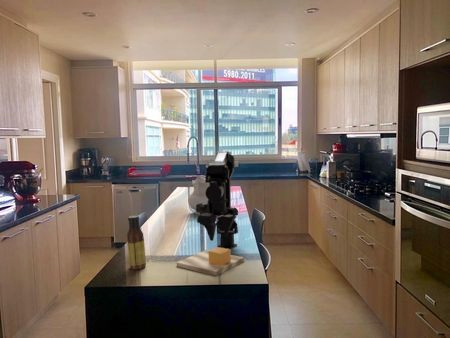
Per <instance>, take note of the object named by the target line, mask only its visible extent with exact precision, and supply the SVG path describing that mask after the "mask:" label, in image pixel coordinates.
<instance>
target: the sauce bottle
mask: <svg viewBox="0 0 450 338" xmlns="http://www.w3.org/2000/svg"><path fill="white" fill-rule="evenodd" d="M127 221H128V226H129V227H128V231H127V232H126V233H127V234H126V238H127V240H126V241H127V242H126V244H127V251H128V253H127V254H128V263H129V264H128V265H129V267H130V269H131V270H136V271H137V270H141V269H144V268H145V267H147V263H146V261H147V260H146V257H147V256H146V247H145V238H144V232H143V230H142V229H141V227H140V216H139V215H130V216H128V217H127Z"/></svg>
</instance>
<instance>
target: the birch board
mask: <svg viewBox="0 0 450 338" xmlns="http://www.w3.org/2000/svg"><path fill="white" fill-rule="evenodd" d="M208 251H209V250H207V249H205V250H203V251H200V252H198V253H195V254H194V255H193V254H192V255H190V256H188V257H186V258H183V259H181V260H178V261H177V262H176V267H179V268H184V269H188V270H192V271H195V272H200V273H204V274H207V275H211V276H218V275H219V276H220V275H221V274H222V273H224V272H226V271H228V270H230V269H232V268H234V267H236V266H238V265H240V264H241V263H244V262H245V258H244V257H243V256H237V255H233V254H231V261H230V262H228V263H226V264H224V265H222V266H221V265H216V264H212V263H209V252H208Z"/></svg>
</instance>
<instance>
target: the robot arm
mask: <svg viewBox="0 0 450 338" xmlns="http://www.w3.org/2000/svg"><path fill="white" fill-rule="evenodd" d="M235 168H236V160H235V156H234V155H232V154H230V151H228V150H218V151H216V156H215V157H214V161H211V162H210V163H209V164H208V165H207V166H206V171H205V172H206V173H205V178H206V180H205V183H210V185H209V187H208V188H207V189H206V192H205V194H206V197H207V199H209V200H208V204H205V205H203V204H202V203H200V204H197V205H196V210H195V212H196V211H197V212H198V213H200V215H197V218H196V220H197V221H196V222H197V223H198V224H200V225H201V226H203V227H204V228H205V230H206V233H207V234H208V238H209V240H210V241H211V242H212V241H214V238H215V234H216V235H219V236H220V237H219V245H217V247H220V248H225V249H232V248H235V247H236V246H238V243H235V235H236V234H238V233H239V228H238V227H239V226H238V223H237V221H236V220H235V219H236V218H237V216H239V209H238V208H237V207H232V205H231V204H232V197H231V195H232V194H231V191H232V189H231V188H232V187H231V186H232V185H231V178H232V175H233V174H234V172H235ZM203 213H204V214H203ZM206 213H208V214H206Z"/></svg>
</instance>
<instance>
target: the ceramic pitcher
mask: <svg viewBox="0 0 450 338" xmlns="http://www.w3.org/2000/svg"><path fill="white" fill-rule="evenodd" d="M205 180H206V177H205V176H201V175H200V176H198V177H196V178H195V180H194V179H192V181H191V183H192V186H193V191H192V192H191V193H190V194H189V196H188V198H187V202H188V206H189V208H191V209H192V210H193V211H195V212H194V214H196V215H197V216H199V215H200V213H198V212H197V211H196V205H197V204H200V203H202V204H203V205H205V204H208V200H209V199H207V197H206V194H205V192H206V189H207V188H208V187H209V185H210V183H205ZM203 214H204V213H203ZM206 214H208V213H206Z"/></svg>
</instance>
